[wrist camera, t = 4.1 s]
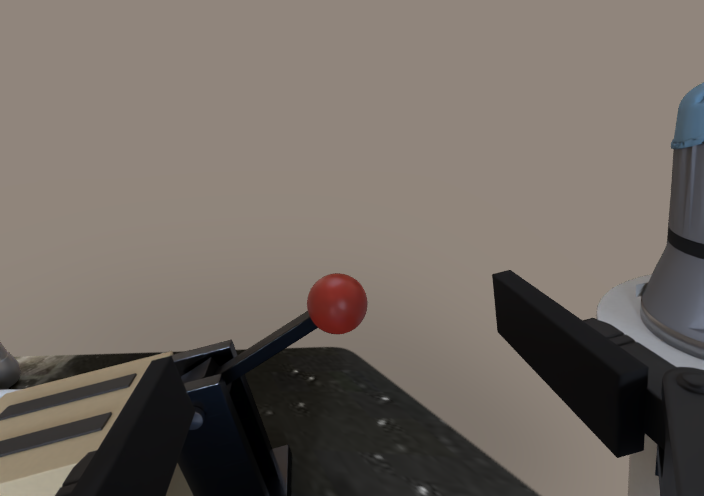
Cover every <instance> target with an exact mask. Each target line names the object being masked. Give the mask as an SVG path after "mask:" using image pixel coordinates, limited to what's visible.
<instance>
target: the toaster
mask: <svg viewBox="0 0 704 496" xmlns="http://www.w3.org/2000/svg"><path fill="white" fill-rule="evenodd" d="M172 355H174V354H173V352H172V351H170V352H166V353H162V354H159V355H155V356H151V357H147V358H143V359H139V360H135V361H131V362H127V363H123V364H119V365H116V366H112V367H108V368H104V369H100V370H96V371H92V372H88V373H84V374H80V375H76V376H73V377H69V378H65V379H61V380H57V381H53V382H49V383H45V384H41V385H37V386H34V387H30V388H26V389H22V390H18V391H14V392H10V393H6V394H5V395H3V396H2V397H1V398H0V496H55V495H56V493H57V492H58V490H59V488H61V487H62V484H63V482H64V481H65V479H66V478H67V476H68V475H69V473H70V472H71V470H72V468H73V467H74V466H75V465H76V464H77V463H78V462H79V461H80V460H81V459H82V458H83V457H84V456H85V455H86V454H87V453H88V452H92V451H95V450H98V448H99V446H100V445H101V443H102V441H103V440H104V438H105V436H106V435H107V433H108V432H109V430H110V428H111V427H112V425H113V423H114V422H115V420H116V418H117V417H118V415H119V414H120V412H121V410H122V409H123V407H124V405H125V404H126V402H127V400H128V399H129V397H130V395H131V394H132V392H133V391H134V389H135V387H136V386H137V384H138V382H139V381H140V379H141V377H142V376H143V374H144V373H145V371H146V369H147V368H148V366H149V364H150V363H151V361H152V360H156V359H160V358H164V357H168V356H172ZM166 496H193V494H192V492H191V490H190V488H189V486H188V484H187V482H186V479H185V477H184V475H183V473H182V471H181V469H180V467H179V465H178V463H177V465H176V468H175V471H174V474H173V476H172V479H171V482H170V485H169V488H168V491H167V493H166Z"/></svg>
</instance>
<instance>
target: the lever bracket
mask: <svg viewBox="0 0 704 496" xmlns="http://www.w3.org/2000/svg"><path fill="white" fill-rule="evenodd" d="M236 356H238V355H237V352H236V350H235V347H234V344H233V342H232V340H228V341H224V342H221V343H217V344H213V345H209V346H205V347H201V348H197V349H193V350H189V351H185V352H182V353H178V354H174V355H172V358H173V360H174V363H175V365H176V367H177V369H178V372H179V374H180V376H183V375H184V374H186V373H188V372H189V371H191V370H192V369H194V368H195V367H197V366H198V365H200V364H202V363H203V362H205V361H206V360H208V359H209V358H212V359H213V360H214V361H215V362H216V363H217V364H218V365H219V366H222V365H223V364H225V363H227V362H228V361H230V360H231V359H233V358H234V357H236ZM184 386H185V388H186V390H187V393H188V395H189V397H190V399H191V402H192V404H193V406H194V409H195V414H194V417H193V420H192V423H191V425H190V428H189V431H188V434H187V437H186V440H185V442H184V445H183V448H182V451H181V454H180V457H179V459H178V462H177V463H178V465H179V467H180V469H181V471H182V473H183V475H184V477H185V479H186V482H187V484H188V486H189V488H190V490H191V492H192V494H193V496H291V467H292V453H291V450H290V448H289V445H284V446H281V447H277V448H273V449H272V447H271V444H270V441H269V439H268V436H267V433H266V431H265V428H264V425H263V422H262V420H261V417H260V414H259V412H258V409H257V406H256V404H255V401H254V398H253V395H252V393H251V390H250V387H249V385H248V382H247V379H246V377H245V374H244V375H242V376H241V377H239V378H237V379H236V380H234V381H233V382H232V384H231V388H230V392H229V391H228V389H227V386H226V384H225V381H224V378H223V376H222V374H218V375H214V376H210V377H206V378H203V379H199V380H195V381H191V382H187V383H184Z"/></svg>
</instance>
